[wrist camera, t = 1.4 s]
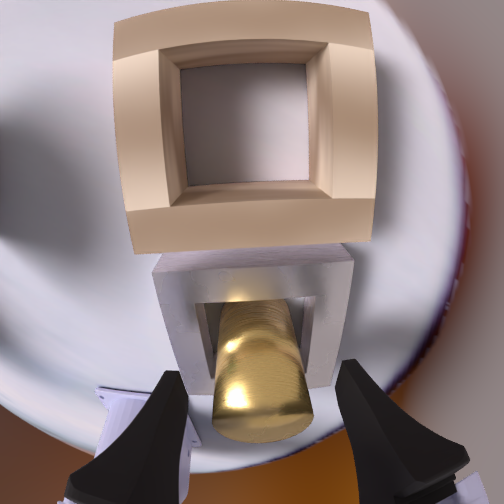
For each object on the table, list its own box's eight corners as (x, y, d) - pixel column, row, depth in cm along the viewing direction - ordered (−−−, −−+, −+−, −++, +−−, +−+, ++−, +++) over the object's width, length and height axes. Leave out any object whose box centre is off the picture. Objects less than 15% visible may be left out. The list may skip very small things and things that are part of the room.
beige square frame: (341, 213, 13) (370, 241, 10) (158, 223, 13) (134, 254, 10) (338, 36, 9) (368, 12, 6) (144, 45, 9) (114, 22, 6)
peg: (288, 340, 16) (307, 438, 10) (224, 344, 16) (219, 444, 10) (290, 286, 15) (320, 391, 8) (216, 290, 15) (204, 398, 8)
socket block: (322, 362, 18) (329, 385, 16) (192, 370, 17) (188, 394, 15) (339, 241, 14) (354, 260, 12) (163, 251, 14) (151, 272, 12)
